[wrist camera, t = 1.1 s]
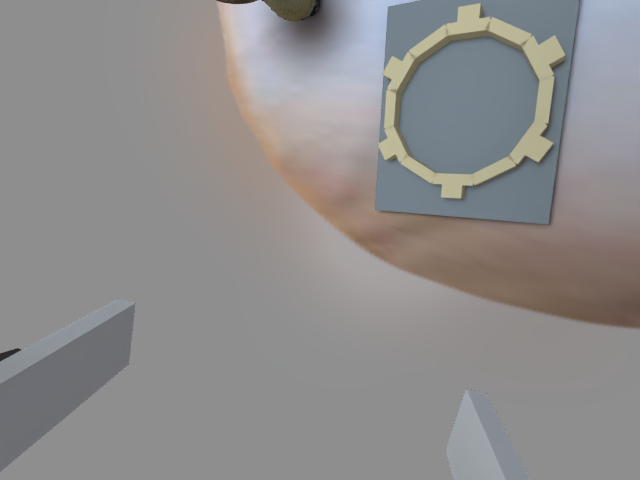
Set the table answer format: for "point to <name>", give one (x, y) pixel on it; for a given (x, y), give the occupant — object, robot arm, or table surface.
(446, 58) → the gear board
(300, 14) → the mushroom
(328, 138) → the table surface
